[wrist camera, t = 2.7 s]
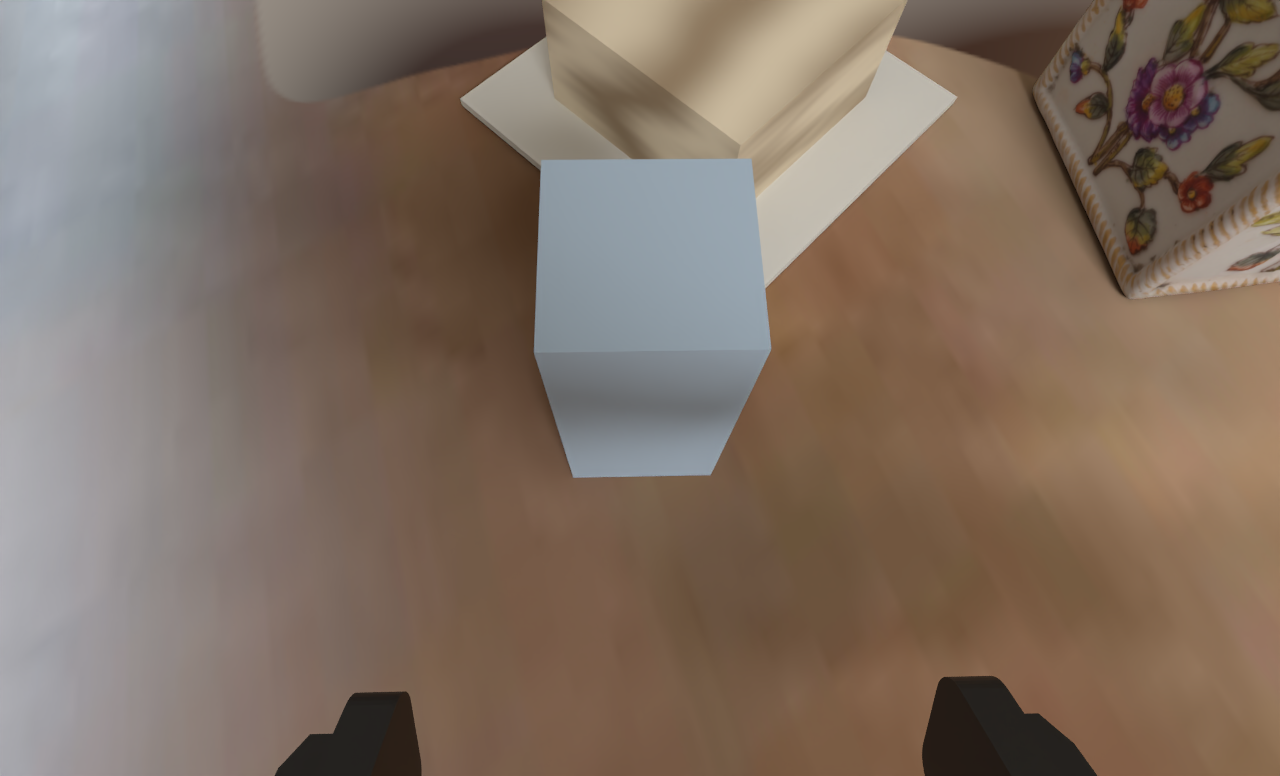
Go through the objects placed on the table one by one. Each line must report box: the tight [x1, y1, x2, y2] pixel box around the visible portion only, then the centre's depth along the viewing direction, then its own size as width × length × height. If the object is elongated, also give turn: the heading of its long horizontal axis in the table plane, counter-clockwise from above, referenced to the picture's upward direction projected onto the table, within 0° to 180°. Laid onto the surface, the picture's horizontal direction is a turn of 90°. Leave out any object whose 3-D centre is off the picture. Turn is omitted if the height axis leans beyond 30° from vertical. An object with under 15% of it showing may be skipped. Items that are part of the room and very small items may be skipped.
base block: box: [542, 0, 907, 197], centre depth 28 cm, size 10×10×5 cm
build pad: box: [460, 37, 957, 288], centre depth 30 cm, size 16×16×1 cm
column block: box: [534, 159, 771, 478], centre depth 20 cm, size 5×5×11 cm
